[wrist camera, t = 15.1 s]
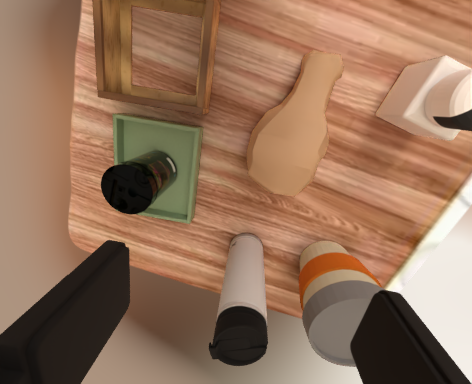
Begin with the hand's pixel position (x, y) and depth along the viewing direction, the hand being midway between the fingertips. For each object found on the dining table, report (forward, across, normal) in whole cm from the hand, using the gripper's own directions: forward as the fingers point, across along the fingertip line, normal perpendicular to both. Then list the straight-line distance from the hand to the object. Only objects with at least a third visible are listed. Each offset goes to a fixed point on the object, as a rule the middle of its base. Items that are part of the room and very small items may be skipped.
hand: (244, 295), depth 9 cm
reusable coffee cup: (+31, -17, +18) cm, 39 cm away
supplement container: (+30, +15, +5) cm, 34 cm away
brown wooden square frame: (+30, +15, -12) cm, 36 cm away
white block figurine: (+31, -21, -11) cm, 39 cm away
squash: (+31, -5, -5) cm, 31 cm away
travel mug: (+31, -2, +18) cm, 35 cm away
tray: (+30, +15, +6) cm, 34 cm away
